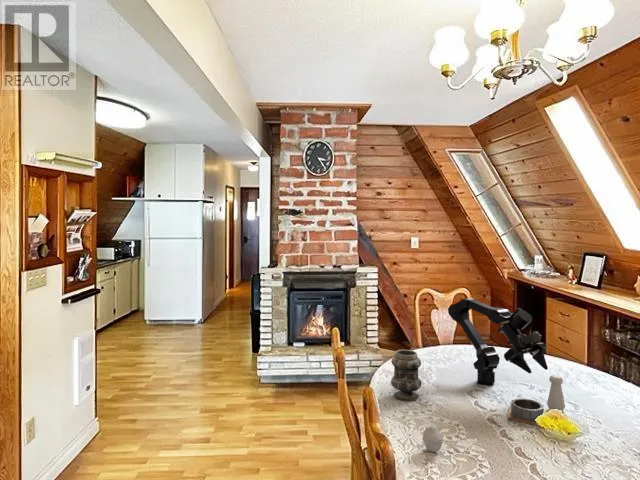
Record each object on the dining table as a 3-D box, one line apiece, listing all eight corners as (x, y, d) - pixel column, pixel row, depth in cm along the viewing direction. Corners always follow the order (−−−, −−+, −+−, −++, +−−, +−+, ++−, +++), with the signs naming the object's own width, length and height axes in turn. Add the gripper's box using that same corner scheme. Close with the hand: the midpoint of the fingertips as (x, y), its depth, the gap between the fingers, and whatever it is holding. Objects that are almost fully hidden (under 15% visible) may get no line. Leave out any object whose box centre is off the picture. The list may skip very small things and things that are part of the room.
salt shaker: (567, 415, 155) (567, 379, 154) (550, 414, 156) (550, 378, 155) (561, 408, 160) (561, 374, 160) (544, 407, 161) (545, 373, 161)
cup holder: (507, 419, 151) (507, 407, 151) (510, 407, 162) (510, 395, 162) (545, 427, 145) (545, 414, 145) (546, 413, 156) (546, 401, 156)
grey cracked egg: (439, 444, 135) (439, 422, 134) (446, 456, 128) (446, 433, 127) (419, 444, 134) (419, 422, 134) (426, 456, 127) (426, 433, 127)
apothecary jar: (424, 393, 176) (424, 350, 175) (417, 404, 165) (417, 358, 164) (395, 389, 181) (395, 346, 180) (387, 399, 170) (387, 354, 170)
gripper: (510, 327, 164) (535, 364, 154) (542, 322, 172) (568, 356, 163) (493, 343, 171) (517, 379, 162) (525, 337, 180) (549, 371, 170)
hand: (538, 371), depth 164 cm, fingers open, 9 cm apart
